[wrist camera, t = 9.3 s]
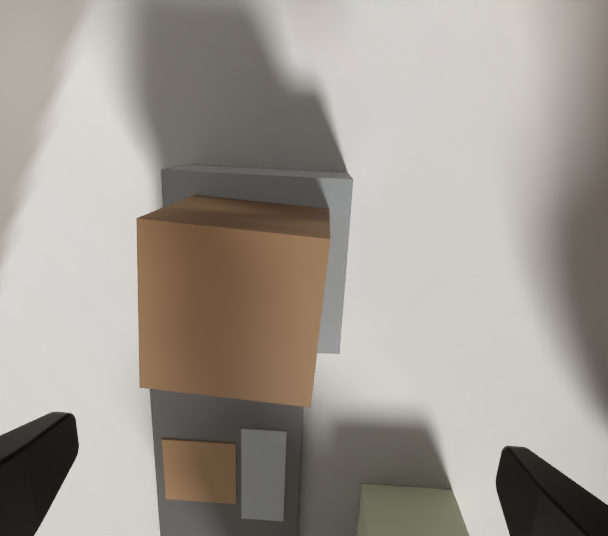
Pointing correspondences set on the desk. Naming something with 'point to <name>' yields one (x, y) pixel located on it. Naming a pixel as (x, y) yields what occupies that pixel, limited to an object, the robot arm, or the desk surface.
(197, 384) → the walnut block
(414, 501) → the sage block
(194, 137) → the desk surface
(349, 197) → the slate base block
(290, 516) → the card
